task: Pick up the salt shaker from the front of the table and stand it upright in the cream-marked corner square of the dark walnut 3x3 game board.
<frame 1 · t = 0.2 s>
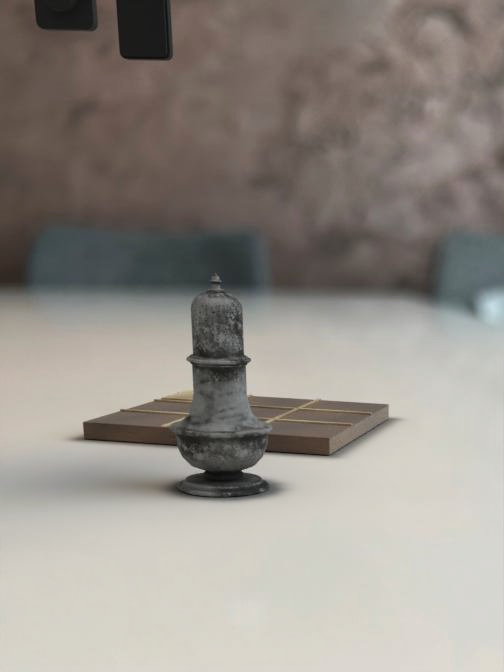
hand: (110, 45, 63), 24 cm above the table, tool pointing down, fingers open, 9 cm apart
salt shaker: (224, 490, 65), on the table
board: (249, 427, 86), on the table
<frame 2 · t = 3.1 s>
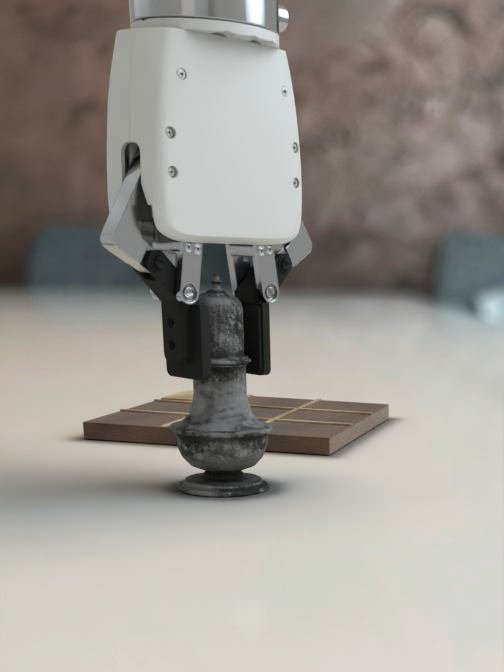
hand: (219, 371, 63), 7 cm above the table, tool pointing down, fingers closed on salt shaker, 3 cm apart
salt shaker: (224, 490, 65), on the table, touching gripper
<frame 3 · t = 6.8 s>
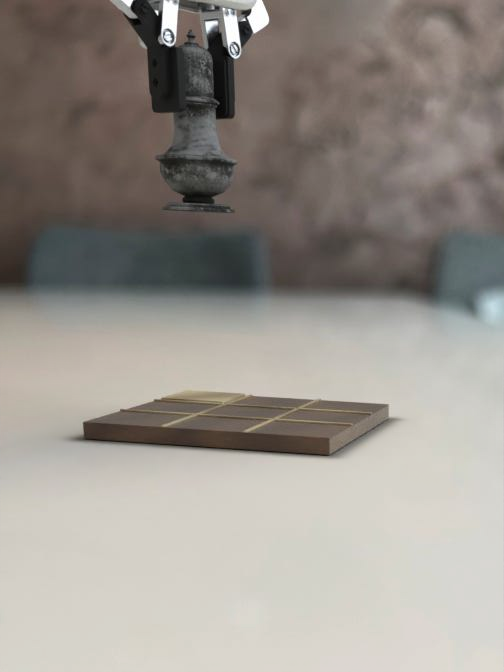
hand: (193, 112, 80), 22 cm above the table, tool pointing down, fingers closed on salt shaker, 3 cm apart
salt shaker: (199, 214, 82), point 15 cm above the table, touching gripper
when the fingers open (8 cm above the table, at t = 10.8 s): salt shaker stays where it is, resting on board.
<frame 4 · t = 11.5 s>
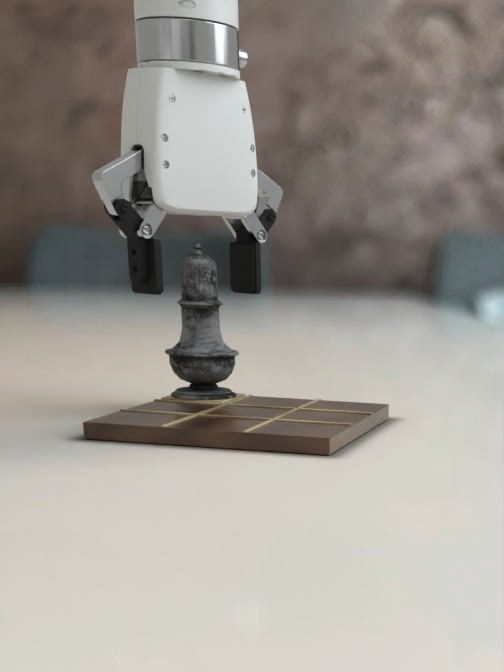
hand: (198, 293, 89), 10 cm above the table, tool pointing down, fingers open, 9 cm apart
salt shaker: (204, 398, 92), point 1 cm above the table, touching board
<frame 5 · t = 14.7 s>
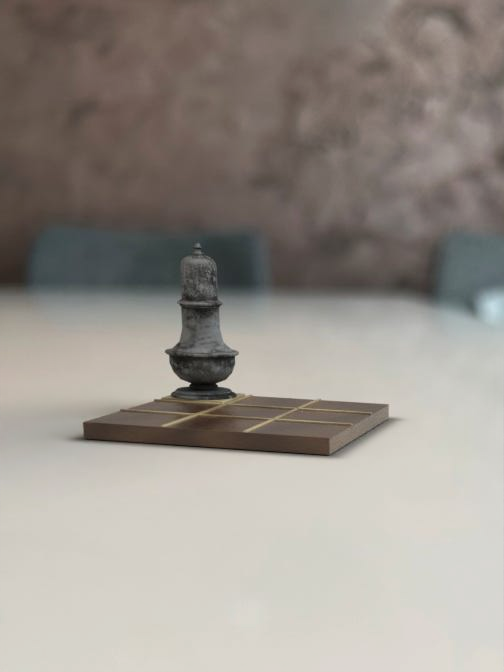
nothing on the table moved.
at the end: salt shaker 0.1 cm from the target spot on the board, point 1.2 cm above the board's base; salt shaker tilted 0°; the gripper is holding nothing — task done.
